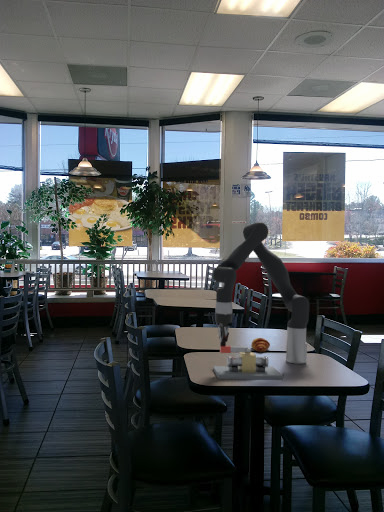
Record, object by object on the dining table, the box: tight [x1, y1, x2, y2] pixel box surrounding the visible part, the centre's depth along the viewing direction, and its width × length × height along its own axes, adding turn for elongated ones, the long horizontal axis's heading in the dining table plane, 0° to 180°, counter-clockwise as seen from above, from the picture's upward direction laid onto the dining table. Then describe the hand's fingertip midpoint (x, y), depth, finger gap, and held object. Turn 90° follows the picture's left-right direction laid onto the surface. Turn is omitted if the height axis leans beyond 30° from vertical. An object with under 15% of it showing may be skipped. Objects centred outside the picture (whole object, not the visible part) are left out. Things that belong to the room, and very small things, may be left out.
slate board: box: [212, 365, 284, 380], centre depth 202 cm, size 28×15×2 cm, turn 96°
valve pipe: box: [226, 351, 269, 373], centre depth 202 cm, size 18×6×8 cm, turn 96°
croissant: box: [250, 337, 271, 353], centre depth 255 cm, size 21×10×8 cm, turn 174°
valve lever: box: [219, 344, 252, 354], centre depth 202 cm, size 14×3×3 cm, turn 93°
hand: (222, 350), depth 205 cm, fingers closed
